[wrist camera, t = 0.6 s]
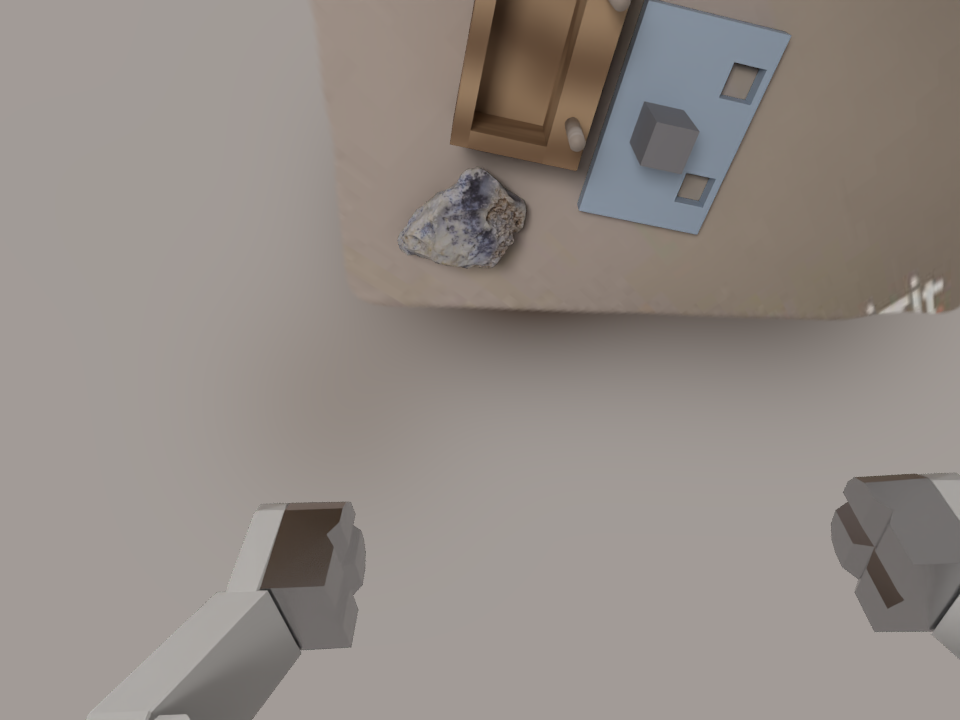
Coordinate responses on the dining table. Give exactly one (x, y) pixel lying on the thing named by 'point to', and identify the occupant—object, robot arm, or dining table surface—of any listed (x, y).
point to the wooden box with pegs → (535, 76)
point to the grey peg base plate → (676, 114)
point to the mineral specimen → (465, 223)
